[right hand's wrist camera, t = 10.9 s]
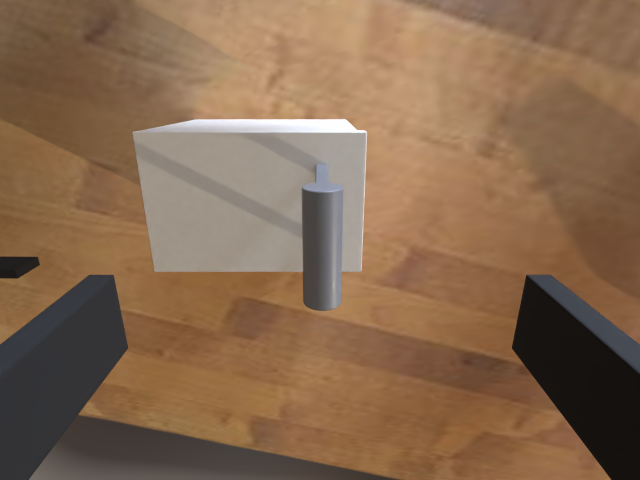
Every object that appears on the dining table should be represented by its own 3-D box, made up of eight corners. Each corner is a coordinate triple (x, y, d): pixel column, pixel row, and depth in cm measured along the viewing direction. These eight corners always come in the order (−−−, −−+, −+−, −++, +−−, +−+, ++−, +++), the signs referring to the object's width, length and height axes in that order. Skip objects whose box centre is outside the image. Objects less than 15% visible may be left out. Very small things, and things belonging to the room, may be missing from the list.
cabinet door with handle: (364, 130, 25) (389, 149, 16) (359, 264, 28) (378, 342, 19) (140, 130, 25) (42, 149, 16) (160, 265, 28) (88, 342, 19)
